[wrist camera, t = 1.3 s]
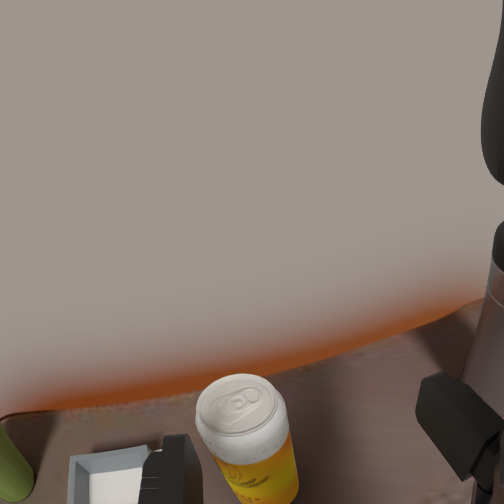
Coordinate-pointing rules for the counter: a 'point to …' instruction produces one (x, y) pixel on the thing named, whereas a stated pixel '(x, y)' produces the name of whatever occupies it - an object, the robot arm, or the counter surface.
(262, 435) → the beer can
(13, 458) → the plant pot
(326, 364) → the counter surface
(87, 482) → the dock
